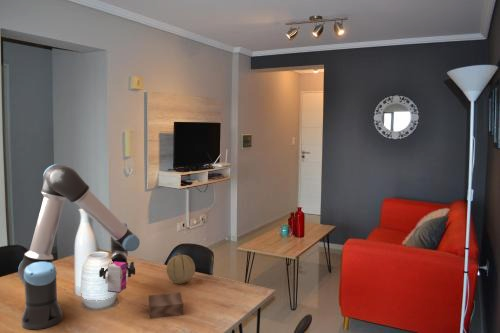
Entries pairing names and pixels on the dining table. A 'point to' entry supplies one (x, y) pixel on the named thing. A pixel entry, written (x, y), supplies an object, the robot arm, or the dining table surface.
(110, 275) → the supplement box
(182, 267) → the cantaloupe
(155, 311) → the walnut block
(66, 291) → the dining table surface
